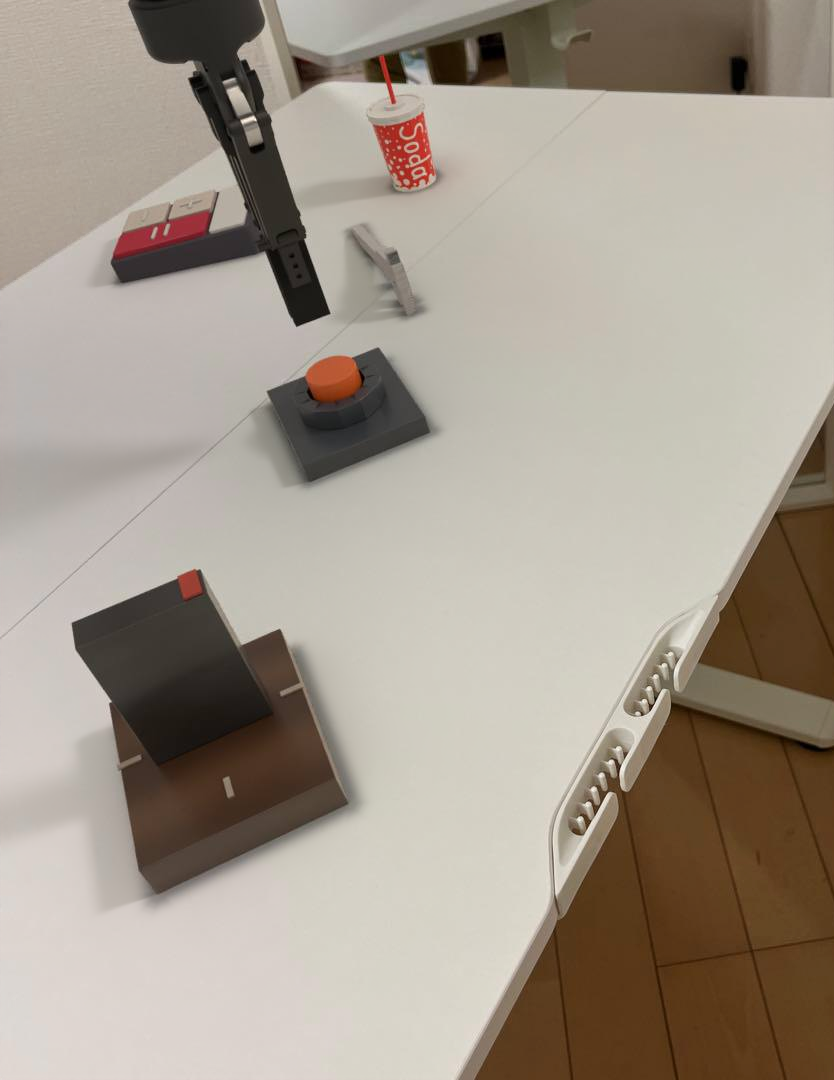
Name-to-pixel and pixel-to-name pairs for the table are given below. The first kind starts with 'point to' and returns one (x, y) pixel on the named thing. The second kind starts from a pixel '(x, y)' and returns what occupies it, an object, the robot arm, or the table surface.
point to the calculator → (185, 235)
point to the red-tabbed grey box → (172, 666)
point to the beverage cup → (403, 137)
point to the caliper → (388, 267)
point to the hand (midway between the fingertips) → (309, 313)
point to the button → (333, 378)
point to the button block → (348, 418)
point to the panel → (230, 780)
